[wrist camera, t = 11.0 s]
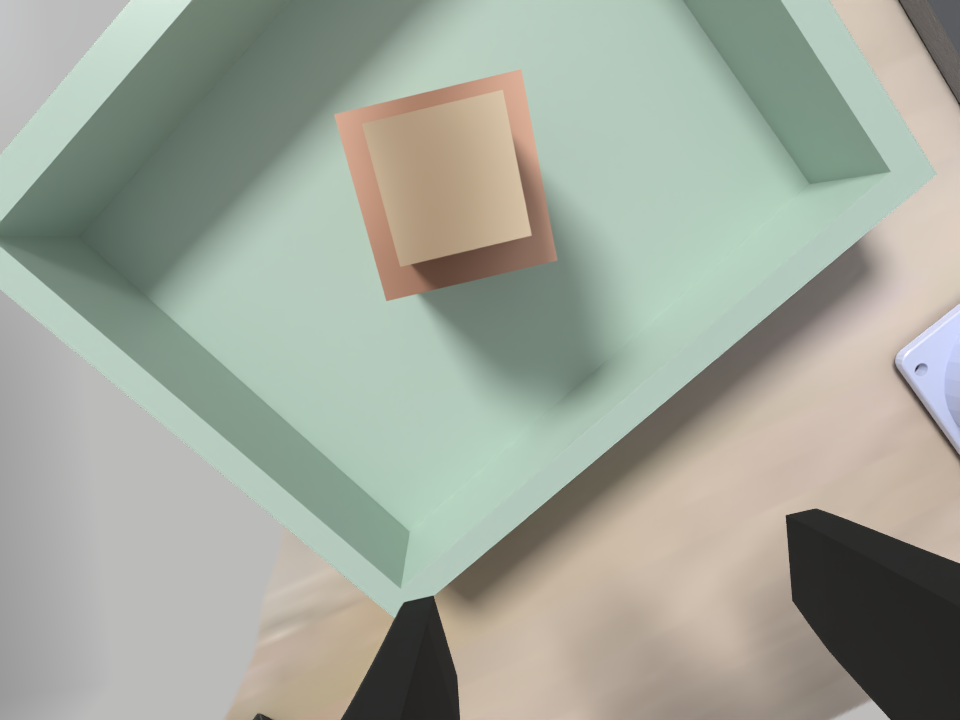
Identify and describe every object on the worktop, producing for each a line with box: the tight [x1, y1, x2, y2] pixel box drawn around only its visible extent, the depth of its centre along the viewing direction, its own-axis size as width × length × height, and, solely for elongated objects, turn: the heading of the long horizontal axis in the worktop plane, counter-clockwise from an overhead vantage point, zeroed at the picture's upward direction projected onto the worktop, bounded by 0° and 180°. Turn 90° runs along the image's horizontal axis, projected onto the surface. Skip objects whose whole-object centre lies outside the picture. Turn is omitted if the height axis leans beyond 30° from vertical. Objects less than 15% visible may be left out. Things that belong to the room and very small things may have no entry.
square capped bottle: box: [334, 69, 557, 301], centre depth 14 cm, size 4×4×8 cm
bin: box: [0, 0, 937, 618], centre depth 16 cm, size 18×22×4 cm
